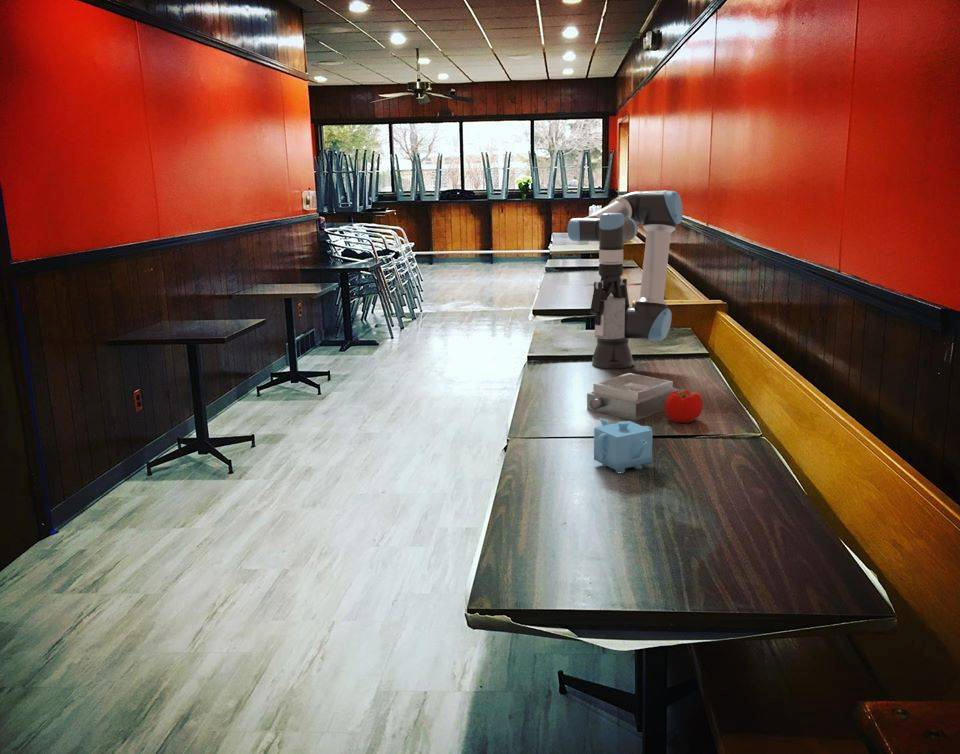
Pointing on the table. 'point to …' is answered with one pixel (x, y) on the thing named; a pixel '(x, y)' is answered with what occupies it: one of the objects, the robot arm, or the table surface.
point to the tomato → (683, 406)
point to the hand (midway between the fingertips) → (609, 332)
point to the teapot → (623, 445)
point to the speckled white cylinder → (613, 318)
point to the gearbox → (630, 396)
